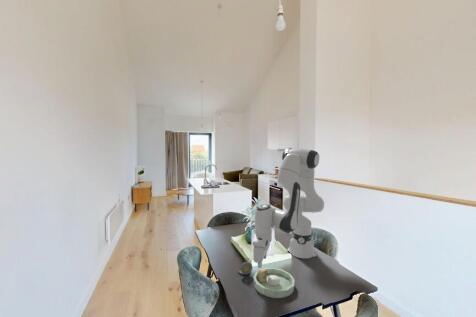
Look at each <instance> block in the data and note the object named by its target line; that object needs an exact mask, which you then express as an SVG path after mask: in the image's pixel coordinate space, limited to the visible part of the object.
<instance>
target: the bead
mask: <svg viewBox="0 0 476 317" xmlns="http://www.w3.org/2000/svg"><path fill="white" fill-rule="evenodd" d="M257 271H258V281H259V282H260V283H266V282H267V271H266V270H265V269H263V268H259V269H258V270H257Z"/></svg>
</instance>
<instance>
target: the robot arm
mask: <svg viewBox="0 0 476 317" xmlns="http://www.w3.org/2000/svg"><path fill="white" fill-rule="evenodd" d="M281 160H282V161H281V164H280V167H279V169H278V173H277V176H276V179H277V182H278V184H279V186H281V187H282V188H283V189H285V191H287V192H288V195H285V197H284V198H283V201H282V203H283V205H282V206H283V207H284V209H285V211H284V210H281V209H280V208H279V209H278V208H276V207H273V206H271V205H270V204H267V203H261V204H259V205H257V206H256V208H255V211H254V230H253V231H254V234H253V239H252V242H251V243H252V246H253V250H252V251H253V253H252V254H253V262H254V263H256V264H257V268H258V269H262V268H263V261H264V260H265V259H266V258H267V255H268V254H267V253H268V250H269V249H270V246H271V242H272V236H273V235H272V233H273V232H272V228H275V229H278V230H280V231H282V232H283V233H286V234H290V233H292V238H290V240H289V242H290V243H289V247H288V248H287V250H288V251H289V252H291V253H292V254H291V253H290V254H291V255H292V256H293V257H296V258H298V259H311V258H313V257H315V258H316V257H317V252H316V251H315V248H314V245H315V244H314V242H313V240H312V237H313V234H312V221H311V219H310V218H308V217H306V216H304V214H303V213H321V212H322V211H324V207H325V201H324V199H323V198H322V197H321V196H320V195H319V194H318V193H317V192H316V190H315V168H317V167H318V165H319V163H320V154H319V153H318V151H316V150H313V149H311V150H310V149H306V148H292V147H289V148H286V149H285V150H283V152H282V156H281ZM301 192H303V193H304V194H301ZM287 250H286V251H287ZM289 252H288V253H289Z"/></svg>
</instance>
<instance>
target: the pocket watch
mask: <svg viewBox="0 0 476 317" xmlns="http://www.w3.org/2000/svg"><path fill="white" fill-rule="evenodd" d="M249 259H250V258H249V257H245V258H244V260H245V262H243V263H242V264H241V265H240V268H238V269H237V270H238V273H239V274H240V275H244V276H246V275H249V274H250V273H251V272H252V271H253V265H252V263H251V262H250V261H249Z"/></svg>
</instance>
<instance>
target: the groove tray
mask: <svg viewBox="0 0 476 317" xmlns="http://www.w3.org/2000/svg"><path fill="white" fill-rule="evenodd" d="M262 269H265V270H266V271H267V282H266V283H260V282H259V281H258V270H257V271H255V273H254V275H253V278H252V279H253V287H254V288H255V290H256V292H258V293H259V294H261V295H262V296H265V297H267V298H272V299H283V298H288V297H290V296H291V295H292V294H293V293H294V291H295V285H296V284H295V283H296V282H295V278H294V277H293V276H292V274H291V273H290V272H288V271H285V270H284V269H281V268H276V267H265V268H264V267H262Z"/></svg>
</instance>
